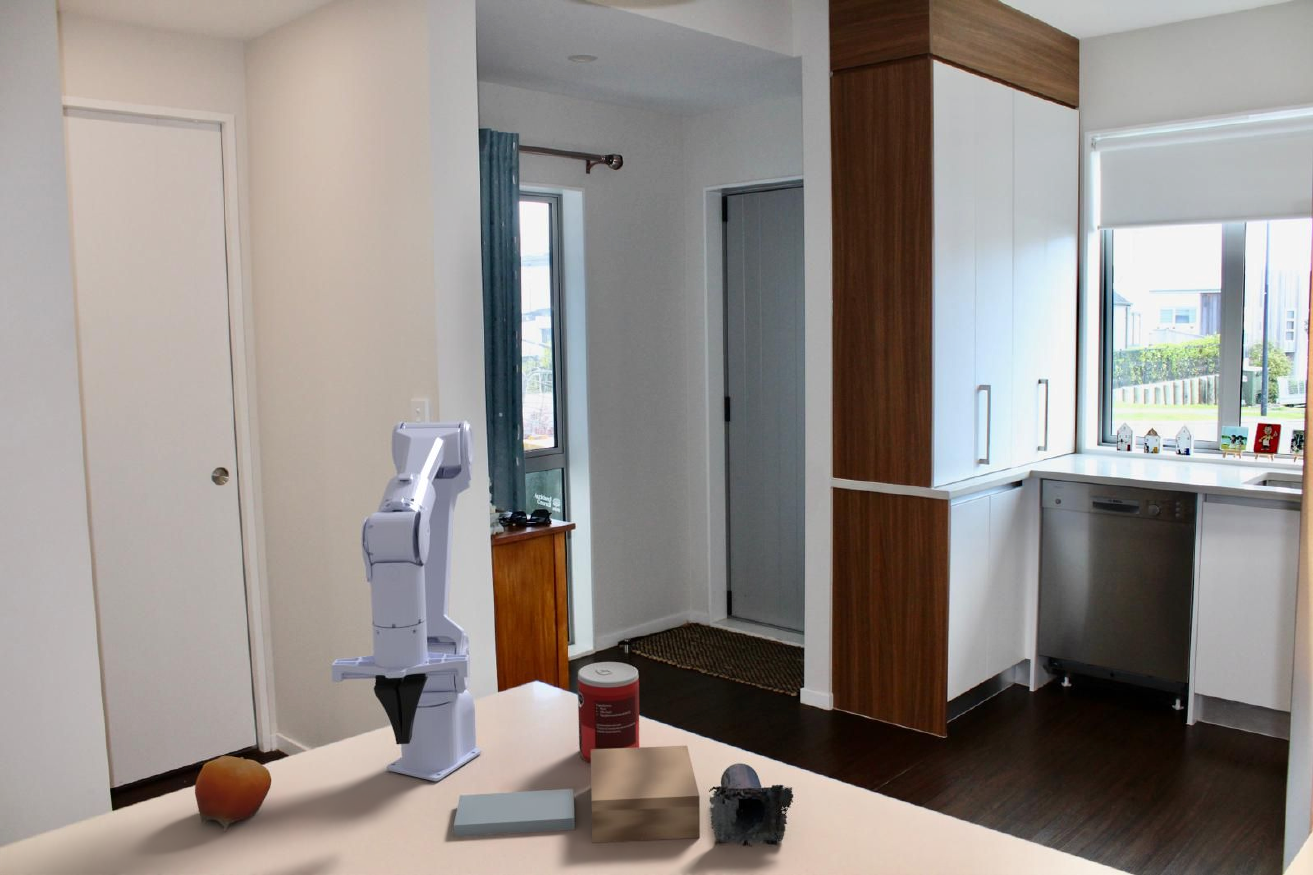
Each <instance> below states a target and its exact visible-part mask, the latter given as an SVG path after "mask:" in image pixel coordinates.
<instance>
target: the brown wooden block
mask: <svg viewBox="0 0 1313 875" xmlns="http://www.w3.org/2000/svg"><path fill="white" fill-rule="evenodd" d="M695 776H696V775H695V772H694V768H693V765H692V759H691V755H690V753H689V748H688V745H670V746H668V745H667V746H646V747H645V746H643V747H640V746H639V748H614V749H591V763H590V782H591V785H590V786H591V828H592V829H591V833H592V834H591V836H592V837H591V838H592V841H591V842H592V843H593V844H594V843H614V842H615V843H616V842H635V841H636V842H638V841H655V840H656V841H657V840H658V841H659V840H676V839H677V840H678V839H698V838H700V837H701V827H700V826H701V825H700V824H701V823H700V820H701V819H700V818H701V816H700V814H701V812H700V811H701V809H700V806H701V805H700V804H701V803H700V792H699V788H698V784H697V780H696V777H695Z"/></svg>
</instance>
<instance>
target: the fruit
mask: <svg viewBox="0 0 1313 875" xmlns="http://www.w3.org/2000/svg"><path fill="white" fill-rule="evenodd" d="M271 785H272V776H271V773H270V771H269V769H267V767H266V766H264V765H263V764H262V763H260V762H257V761H256V760H253V759H250V758H249V759H245V758H244V756H241V757H235V756H231V755H221V756H220V757H217V758H216V759H212V760H211V761H208V762H205V763H204V764H203V765H202V769H201V770H200V772H199V774H198V775H197V778H196V781H195V787H194V794H195V800H196V805H197V809H198V814H199V816H200V820H201V823H203V822H206V821H208V820H209V821H210V820H215V821H217V822H219V823H220V825H222V826H223V832H224V833H226V832H227V828H228V827H229V825H230V824H232V823H234V822H236V821H240V820H246V819H248V818H250V817H252V816H253V815H255V814H256V813H257V812H258V811H259V810H260V808H261V807H262V804H263V803H264V801H265V800H266V797H267V795H268V793H269V791H270V789H271V788H272V787H271Z"/></svg>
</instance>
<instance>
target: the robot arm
mask: <svg viewBox="0 0 1313 875" xmlns="http://www.w3.org/2000/svg"><path fill="white" fill-rule="evenodd" d="M392 429H393V430H392V432H391V456H392V461H393V464H394V465H395V466H394V467H395V470H396V474H397V475H394V476H393V477H392V478H391V479H390V480H389V482H387V485H386V487H385V490H384V492H383V495H382V497H381V501H380V503H379V505H378V508H377V511H376V512H373V513H372V514H371V516H370V517H368V516H367V517H365V518H364V520H363V523H362V528H361V537H360V538H361V539H360V540H361V552H362V553H361V554H362V558H363V562H364V566H365V578H366V581H367V583H370V595H371V596H370V598H371V599H370V602H371V603H370V604H371V623H372V624H371V625H372V644H373V645H372V646H373V647H372V648H373V655H371V654H370V655H364V656H357V657H349V658H336V659H335V660H334V661H333V662H332V664H331V681H332V683H335V682H337V683H338V682H339V683H340V682H343V681H344V680H361V679H363V680H365V679H366V680H367V679H368V680H369V679H370V680H371V679H374V680H375V683H374V687H373V691H374V694H375V696H376V698H377V699H378V701H379V702H380V704H381V706H382V708H383V709H384V711H385V713H386V715H387V717H388V720H389V722H390V725H391V728H392V731H393V734H394V738H395V743H396V745H400V746H401V748H400V749H401V757H399V758H398V759H396V760H394V761H393V762H391V763H390V764H388V765H387V766H386V770H387V771H390V772H395V773H398V774H402V775H406V776H407V775H408V776H410V777H411V776H412V777H415V778H420V779H425V780H429V781H432V782H438V781H440V780H442V779H443V778H445V777H446V776H448V775H449V774H451V773H452V772H455V771H456V770H457V769H458V768H460V767H461V766H463V765H465V764H467V763H468V762H469V761H472V760H473V759H474V758H476V757H477V756H478V755H480V754H482V752H483V749H482V748H480V747H477V738H476V737H477V735H476V733H477V732H476V730H477V728H476V706H475V705H476V704H475V701H474V699H473V697H472V694H471V692H470V691H469V690H468V688H469V682H470V674H471V660H470V659H471V657H470V656H471V655H470V639H469V636H468V634H467V631H466V630H465V629H464V628H463V627H462V626H461V625H459V624H458V623H457V622H455V621H454V620H452V619H451V618H450V617H449V604H450V603H449V602H450V587H451V585H450V584H451V569H452V567H451V564H452V549H453V529H454V528H453V526H454V512H455V507H456V504H457V499H458V496H459V494H460V493H463V492H464V491H466V490H467V489H470V487H471V480H472V479H473V465H474V463H473V462H474V460H473V459H474V436H473V434H474V433H473V428H472V425H471V424H470V423H469V422H468V420H461V421H436V422H435V421H431V422H430V421H427V422H405V421H398V422H397V423H396V425H395V426H393V428H392Z"/></svg>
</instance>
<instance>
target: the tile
mask: <svg viewBox="0 0 1313 875" xmlns="http://www.w3.org/2000/svg"><path fill="white" fill-rule="evenodd" d="M574 795H575V794H574V788H564V789H563V788H562V789H551V790H550V789H549V790H547V789H546V790H544V789H543V790H530V791H515V792H513V791H512V792H511V791H510V792H495V793H494V792H493V793H492V792H491V793H477V794H461V795H459V799H458V803H457V808H456V813H455V818H454V823H453V837H468V836H470V837H471V836H484V835H499V834H503V835H504V834H517V833H535V832H550V831H567V830H568V831H569V830H576V827H575V825H576V824H575V800H574V798H575V797H574Z"/></svg>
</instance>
